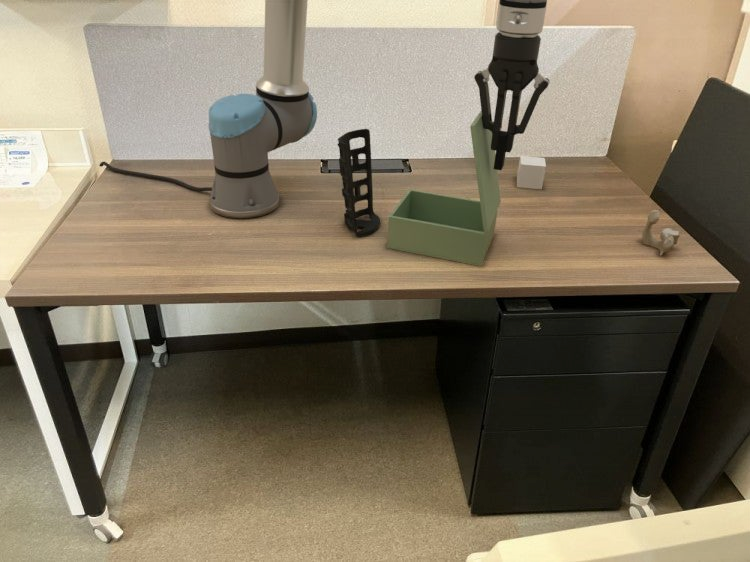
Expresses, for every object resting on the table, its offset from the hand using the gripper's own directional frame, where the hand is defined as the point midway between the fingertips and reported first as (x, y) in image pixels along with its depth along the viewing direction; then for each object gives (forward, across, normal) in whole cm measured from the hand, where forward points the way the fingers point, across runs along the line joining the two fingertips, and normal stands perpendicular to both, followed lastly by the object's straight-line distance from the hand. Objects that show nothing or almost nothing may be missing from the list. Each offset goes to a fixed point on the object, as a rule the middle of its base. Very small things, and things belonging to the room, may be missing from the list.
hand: (498, 167), depth 113 cm
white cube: (+18, +4, +38) cm, 42 cm away
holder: (+18, -28, 0) cm, 33 cm away
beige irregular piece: (+18, +34, +14) cm, 41 cm away
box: (+18, -9, 0) cm, 20 cm away
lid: (0, -3, 0) cm, 3 cm away
